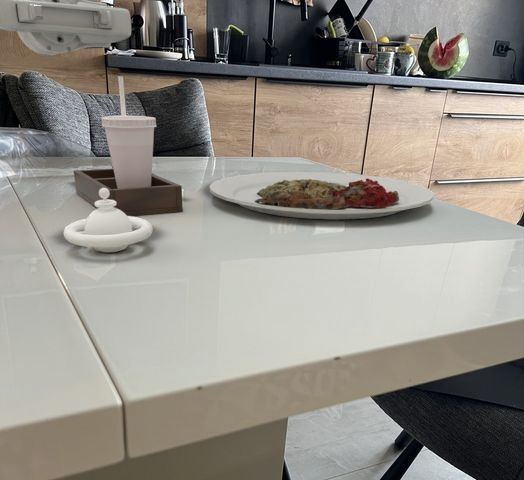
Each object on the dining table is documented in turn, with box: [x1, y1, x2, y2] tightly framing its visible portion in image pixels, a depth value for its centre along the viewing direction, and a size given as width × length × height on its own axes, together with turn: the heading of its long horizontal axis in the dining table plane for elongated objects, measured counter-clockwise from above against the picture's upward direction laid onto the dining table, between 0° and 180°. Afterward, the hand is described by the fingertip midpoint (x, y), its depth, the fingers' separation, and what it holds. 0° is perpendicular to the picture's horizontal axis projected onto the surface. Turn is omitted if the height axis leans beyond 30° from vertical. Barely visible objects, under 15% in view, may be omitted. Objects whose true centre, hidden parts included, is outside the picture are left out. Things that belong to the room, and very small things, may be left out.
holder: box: [73, 168, 184, 217], centre depth 72 cm, size 9×17×3 cm, turn 29°
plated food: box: [208, 171, 435, 220], centre depth 74 cm, size 30×30×3 cm
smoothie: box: [100, 75, 158, 189], centre depth 66 cm, size 6×6×14 cm
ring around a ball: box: [63, 188, 154, 253], centre depth 50 cm, size 8×6×8 cm
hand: (72, 14), depth 77 cm, fingers open, 8 cm apart
